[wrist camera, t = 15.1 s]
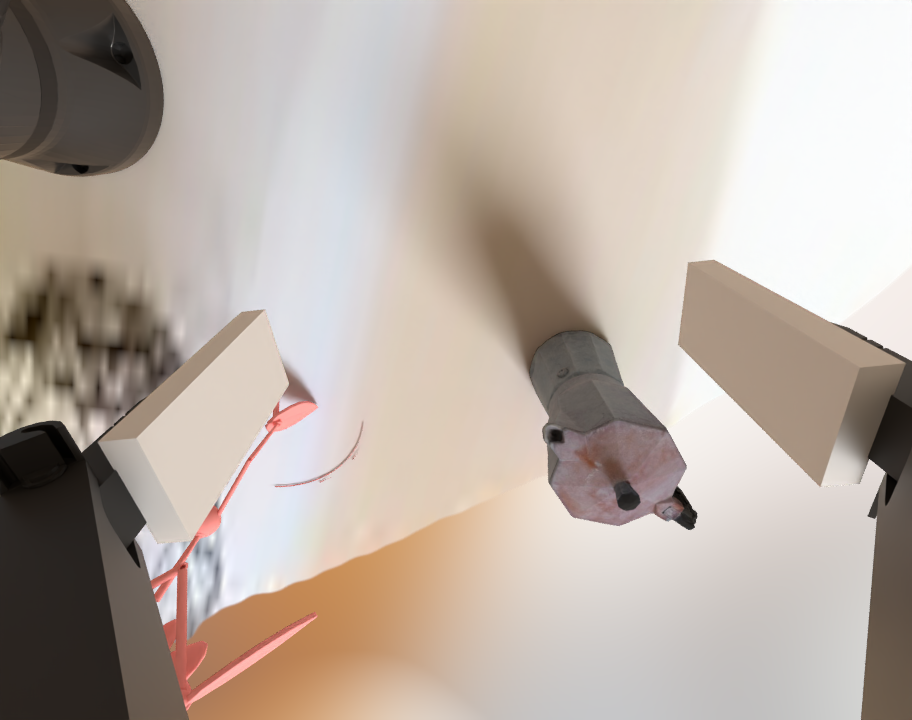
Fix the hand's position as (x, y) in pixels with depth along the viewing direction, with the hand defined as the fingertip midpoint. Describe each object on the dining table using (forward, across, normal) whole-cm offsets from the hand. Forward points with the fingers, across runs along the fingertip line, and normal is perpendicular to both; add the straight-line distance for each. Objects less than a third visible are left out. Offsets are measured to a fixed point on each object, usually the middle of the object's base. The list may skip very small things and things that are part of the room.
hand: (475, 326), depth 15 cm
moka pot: (+29, +10, -18) cm, 36 cm away
